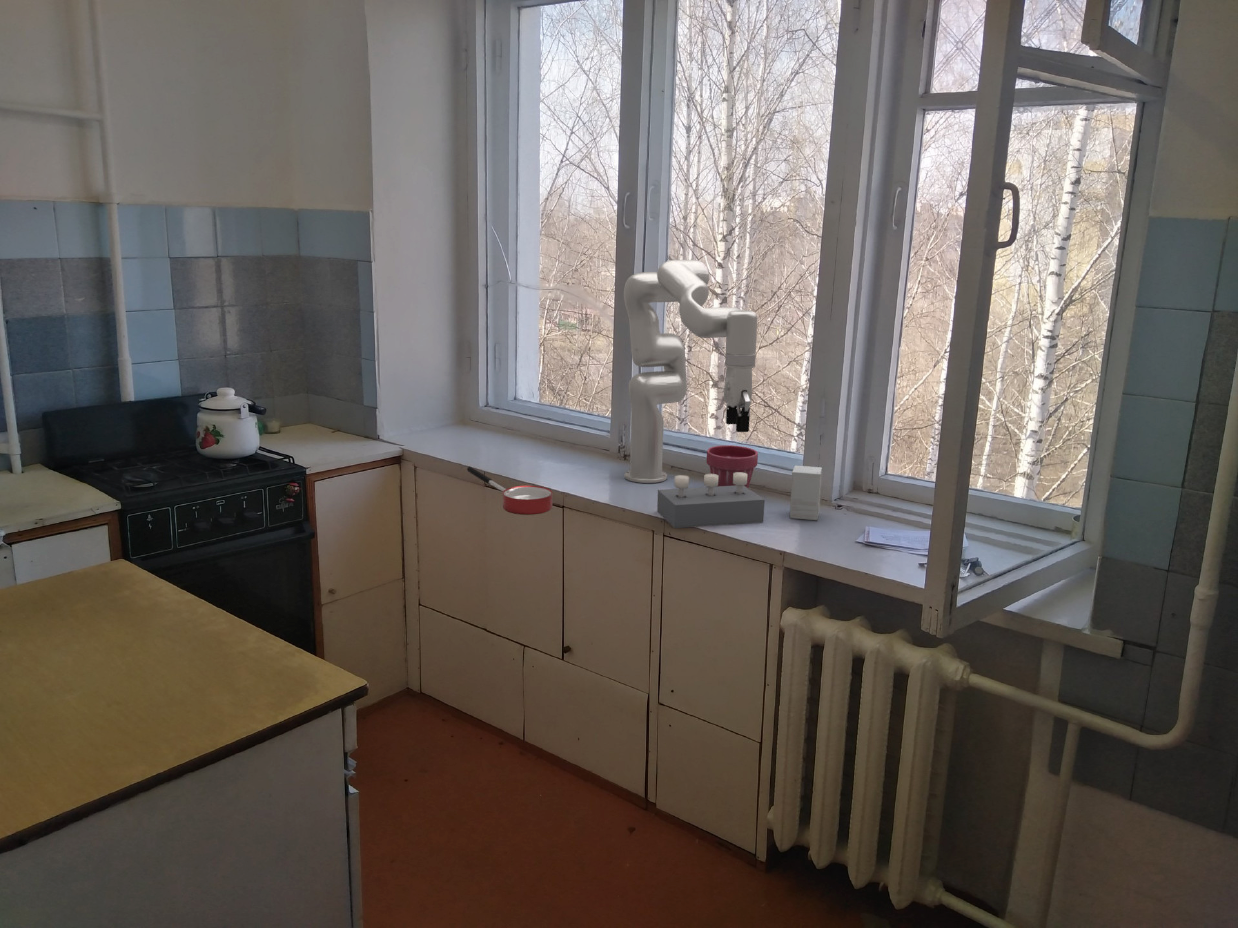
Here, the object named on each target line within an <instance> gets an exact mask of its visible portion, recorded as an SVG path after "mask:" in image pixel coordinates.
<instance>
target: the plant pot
mask: <svg viewBox="0 0 1238 928" xmlns="http://www.w3.org/2000/svg"><path fill="white" fill-rule="evenodd" d="M758 457H759V453H758V451H757V450H755V449H753V448H750V447H747V446H746V447H745V446H741V445H733V444H732V445H726V444H725V445H715V446H711V447H708V449H707V450H706V461H705V462H706V464H707V465H708V467H709V471H710V473H709V474H716V475H718V486H735V484H733V473H736V472H743V473H746V474H747V484H746V485H744V486H745V487H747V488H748V489H750V484H751V481H752V476H753V472H754V470H755V468H756V467H757V466H758ZM718 486H716V487H718Z"/></svg>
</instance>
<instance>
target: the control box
mask: <svg viewBox="0 0 1238 928" xmlns="http://www.w3.org/2000/svg"><path fill="white" fill-rule="evenodd" d="M736 489H737V485H735V486H718V487H714V496H707V493H708V486H704V487H703V486H702V487H701V486H700V487H688V488H685V493H684V498H678V488H670V489H668V488H667V489H658V490H657V504H656V505H657V506H656V507H657V509H656V513H658V514H659V515H660V516H661V517H662V518H663V519H664V520H665V521H666V522H667V523H668V524H670V525H671V527H672V528H673V529H680V528H681V529H682V528H683V529H684V528H695V527H696V528H697V527H710V526H711V527H713V526H727V525H728V526H729V525H739V524H741V525H743V524H755V523H757V524H758V523H764V518H765V517H764V515H765V499H764V498H763V497H761V495H758V494H757V493H756V492H754V491H752V490H751V489H750V488H747V487H745V486H744V485H743V493H742V494H736Z"/></svg>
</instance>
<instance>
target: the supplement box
mask: <svg viewBox="0 0 1238 928" xmlns="http://www.w3.org/2000/svg"><path fill="white" fill-rule="evenodd" d="M822 469H823V468H822V467H821V466H820V467H817V466H808V465H807V466H806V465H794V467H793V469H792V472H791V488H790V505H789V519H798V520H809V521H818V519H819V514H820V508H821V507H820V505H821V488H822V473H823V470H822Z"/></svg>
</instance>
